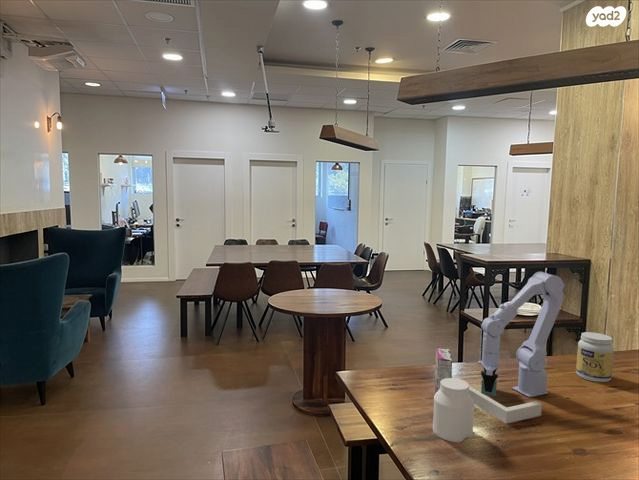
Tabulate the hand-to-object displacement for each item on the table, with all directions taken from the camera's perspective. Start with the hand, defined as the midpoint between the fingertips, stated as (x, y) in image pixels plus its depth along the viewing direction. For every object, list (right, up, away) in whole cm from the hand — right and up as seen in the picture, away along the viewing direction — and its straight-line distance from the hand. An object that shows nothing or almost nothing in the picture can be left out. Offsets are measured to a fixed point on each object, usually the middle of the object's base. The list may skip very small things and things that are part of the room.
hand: (488, 387), depth 158 cm
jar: (-22, -4, -28) cm, 36 cm away
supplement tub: (+48, -1, +15) cm, 50 cm away
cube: (0, -2, 0) cm, 2 cm away
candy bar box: (-19, -2, -6) cm, 20 cm away
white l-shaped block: (0, -3, -11) cm, 11 cm away
